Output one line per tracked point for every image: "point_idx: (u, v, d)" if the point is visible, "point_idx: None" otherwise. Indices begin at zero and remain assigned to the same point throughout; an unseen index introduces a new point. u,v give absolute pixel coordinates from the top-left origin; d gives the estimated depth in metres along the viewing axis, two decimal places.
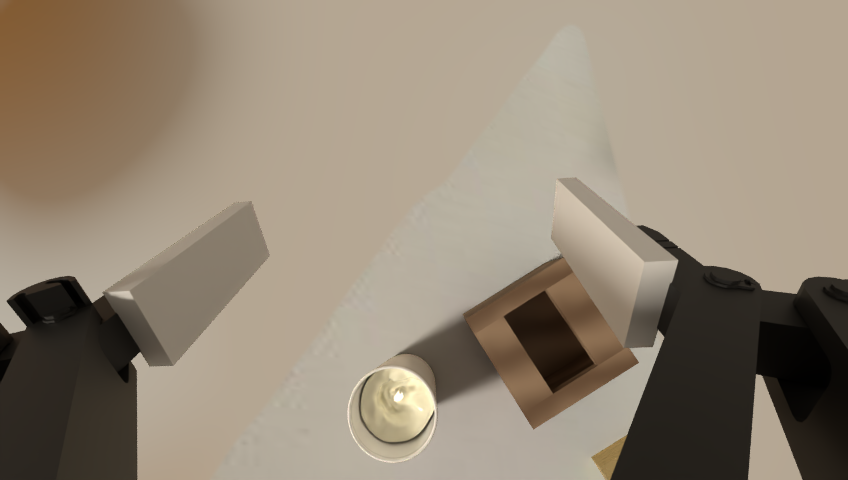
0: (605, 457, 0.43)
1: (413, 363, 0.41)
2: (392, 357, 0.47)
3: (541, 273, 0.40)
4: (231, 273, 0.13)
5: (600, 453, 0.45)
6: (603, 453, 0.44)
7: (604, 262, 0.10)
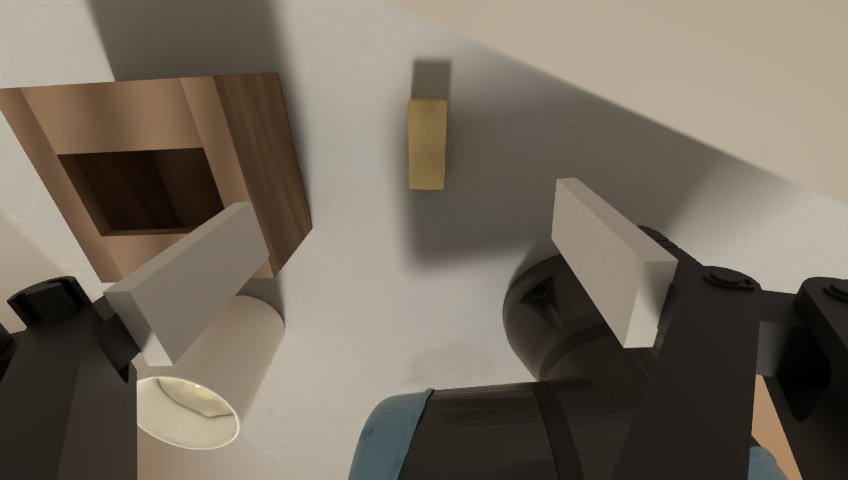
0: None
1: None
2: None
3: (24, 146, 0.22)
4: (231, 273, 0.13)
5: None
6: None
7: (604, 262, 0.10)
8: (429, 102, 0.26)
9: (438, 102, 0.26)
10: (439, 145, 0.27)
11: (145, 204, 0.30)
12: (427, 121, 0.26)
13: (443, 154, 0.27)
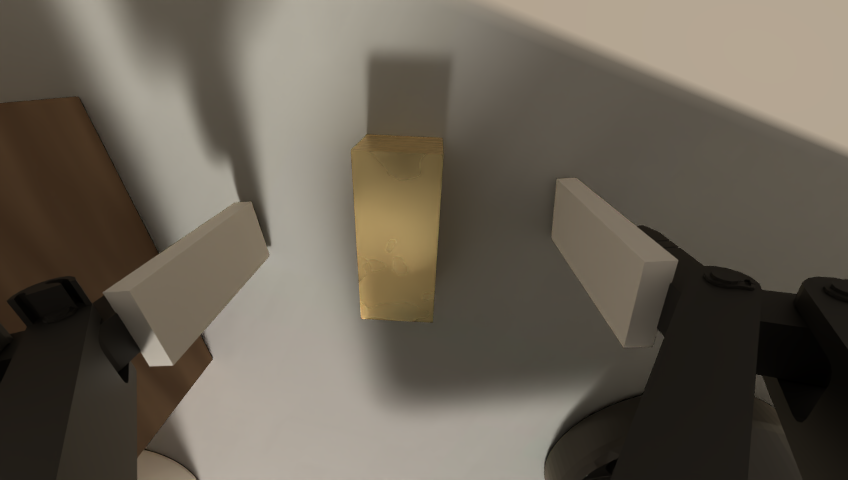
0: None
1: None
2: None
3: None
4: (231, 273, 0.13)
5: None
6: None
7: (604, 262, 0.10)
8: (401, 155, 0.11)
9: (422, 155, 0.11)
10: (424, 243, 0.12)
11: None
12: (396, 195, 0.12)
13: (432, 260, 0.13)
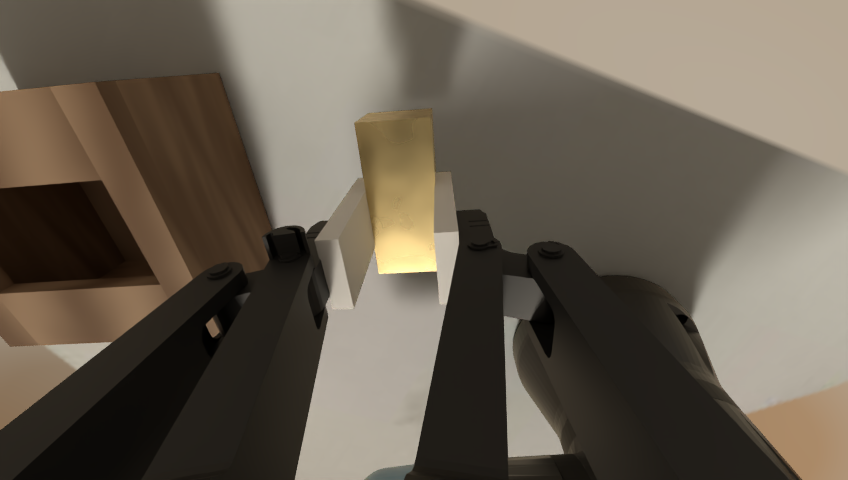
0: None
1: None
2: None
3: None
4: (369, 238, 0.15)
5: None
6: None
7: None
8: (396, 122, 0.13)
9: (413, 120, 0.13)
10: (424, 198, 0.15)
11: (69, 242, 0.24)
12: (396, 157, 0.14)
13: (433, 213, 0.15)
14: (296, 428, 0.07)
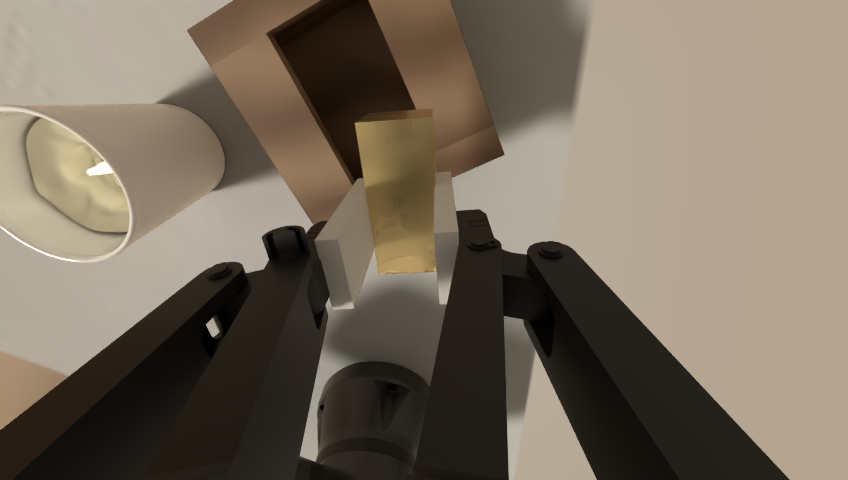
0: None
1: (124, 114, 0.23)
2: None
3: None
4: (369, 238, 0.15)
5: None
6: None
7: None
8: (396, 122, 0.13)
9: (414, 120, 0.13)
10: (425, 198, 0.14)
11: (296, 24, 0.24)
12: (397, 157, 0.14)
13: None
14: (296, 428, 0.07)
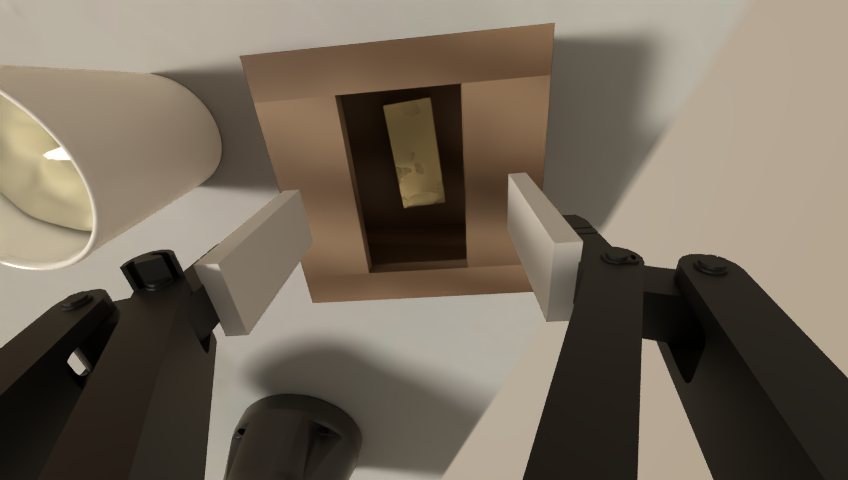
0: None
1: (118, 100, 0.18)
2: None
3: (473, 36, 0.15)
4: (286, 255, 0.14)
5: None
6: None
7: (534, 247, 0.11)
8: (408, 102, 0.21)
9: (419, 100, 0.21)
10: (430, 151, 0.23)
11: None
12: (410, 125, 0.22)
13: (437, 161, 0.23)
14: (195, 451, 0.07)
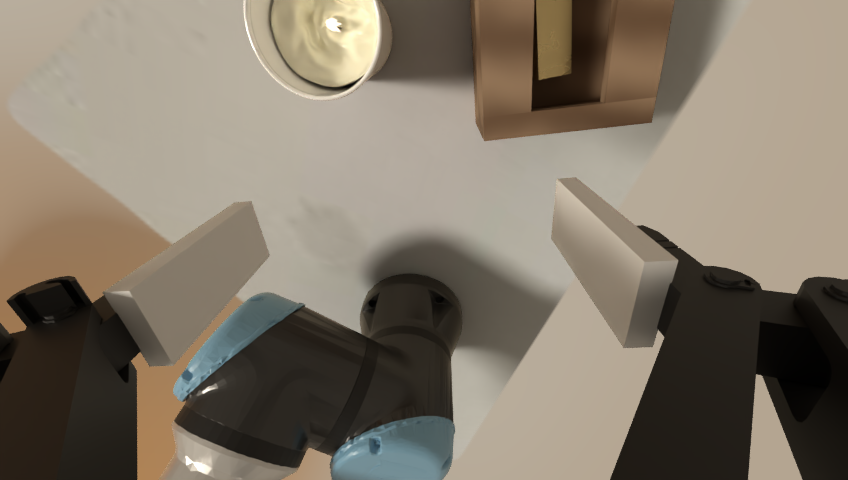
0: (535, 63, 0.33)
1: None
2: None
3: None
4: (231, 273, 0.13)
5: None
6: (533, 61, 0.33)
7: (604, 262, 0.10)
8: None
9: None
10: (565, 29, 0.30)
11: None
12: (553, 7, 0.30)
13: (569, 37, 0.31)
14: None
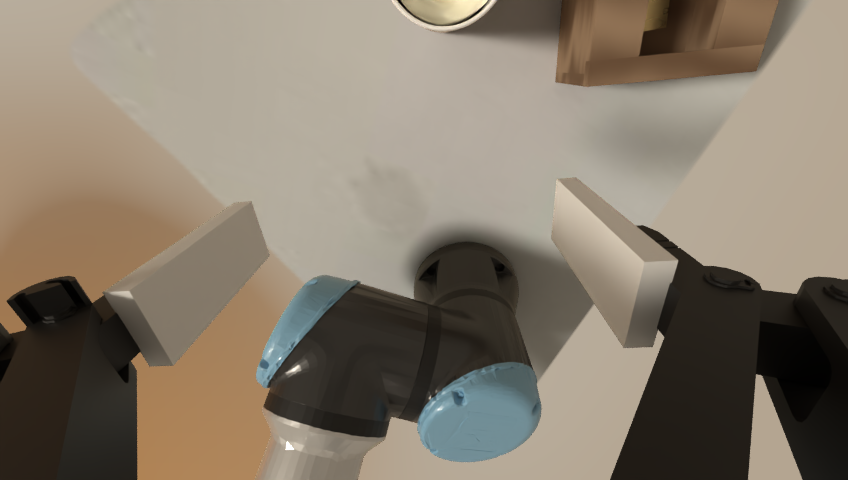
0: None
1: None
2: None
3: None
4: (231, 273, 0.13)
5: None
6: None
7: (604, 262, 0.10)
8: None
9: None
10: None
11: None
12: None
13: None
14: None
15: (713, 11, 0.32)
